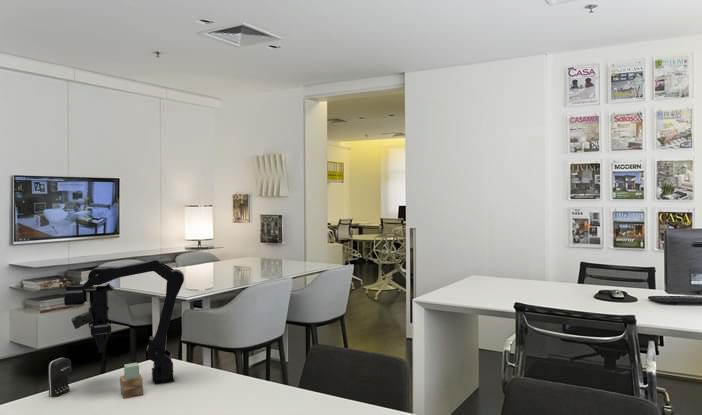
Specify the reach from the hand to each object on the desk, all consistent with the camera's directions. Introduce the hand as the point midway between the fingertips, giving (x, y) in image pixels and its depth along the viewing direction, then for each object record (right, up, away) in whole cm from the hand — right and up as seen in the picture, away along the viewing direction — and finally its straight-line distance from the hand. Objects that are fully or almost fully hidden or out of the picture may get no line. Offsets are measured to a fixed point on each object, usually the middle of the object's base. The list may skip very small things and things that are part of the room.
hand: (99, 349), depth 184 cm
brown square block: (+14, -10, -7) cm, 19 cm away
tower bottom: (+14, -13, -7) cm, 20 cm away
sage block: (+14, -7, -7) cm, 17 cm away
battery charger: (-10, -13, -6) cm, 18 cm away
